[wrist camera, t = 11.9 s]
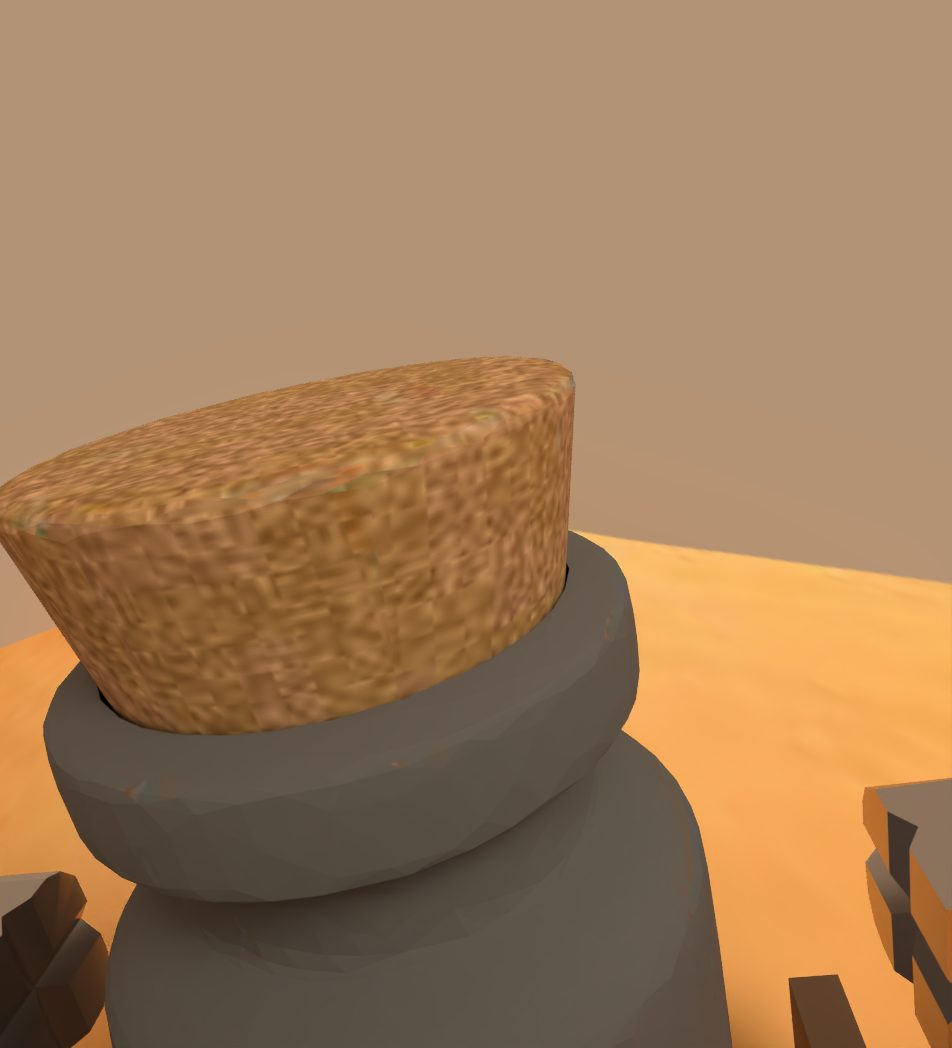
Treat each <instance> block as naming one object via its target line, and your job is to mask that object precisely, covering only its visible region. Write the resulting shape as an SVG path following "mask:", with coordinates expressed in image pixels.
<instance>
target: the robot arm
mask: <svg viewBox="0 0 952 1048" xmlns="http://www.w3.org/2000/svg"><path fill="white" fill-rule="evenodd" d="M862 802H863V824H864V826H865V828H866V830H867V831H868V833H869V835H870V837H871V839H872V841H873V843H874V845H875V847H876V849H875V851H874V852H873V853H872V855H871V856H870V857H869V858H868V860H867V861H866V862H865V863H866V874H867V886H868V894H869V899H870V903H871V908H872V912H873V917H874V921H875V925H876V927H877V930H878V933H879V936H880V939H881V941H882V944H883V947H884V949H885V951H886V953H887V956H888V958H889V960H890V962H891V964H892V966H893V969H894V971H896V972H897V973H899V974H900V975H902V976H903V977H904V978H906V979H907V980H909V981H910V982H912V983H913V984H914V1003H915V1015H916V1017H917V1019H918V1021H919V1023H920V1026H921V1028H922V1030H923V1032H924V1034H925V1036H926V1038H927V1040H928V1042H929V1044H930V1046H931V1048H952V778H946V779H937V780H928V781H919V782H910V783H901V784H892V785H882V786H873V787H865V790H864V796H863V801H862ZM86 902H87V900H86V898H85V895H84V893H83V891H82V889H81V887H80V885H79V883H78V881H77V879H76V877H75V876H73V875H70V874H67V873H64V872H61V871H59V872H46V873H34V874H21V875H9V876H0V1048H71V1047H72V1046H73V1045H75V1044H76V1043H77V1042H78V1041H79V1040H81V1039H82V1038H83V1037H84V1036H85V1035H87V1034H88V1033H89V1032H90V1031H91V1029H92V1027H93V1025H94V1023H95V1021H96V1019H97V1018H98V1016H99V1014H100V1012H101V1010H102V1008H103V1007H104V1003H105V984H106V970H107V965H108V960H109V956H108V951H107V948H106V946H105V943H104V941H103V938H102V936H101V934H100V933H99V932H98V931H96V930H95V929H94V928H93V927H91V926H90V925H89V924H87V923H86V922H85V921H83V920H82V919H81V916H82V914H83V911H84V908H85V905H86Z"/></svg>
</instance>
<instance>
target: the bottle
mask: <svg viewBox="0 0 952 1048" xmlns="http://www.w3.org/2000/svg"><path fill="white" fill-rule="evenodd" d="M574 399H575V382H574V379H573V375H572V373H571V372H570V371H569V370H567V369H566V368H565V367H563V366H562V365H560V364H558V363H555V362H553V361H550V360H546V359H537V358H522V357H482V358H467V359H455V360H446V361H438V362H430V363H422V364H415V365H408V366H401V367H394V368H387V369H381V370H374V371H366V372H361V373H356V374H351V375H346V376H341V377H336V378H331V379H325V380H320V381H315V382H310V383H305V384H300V385H295V386H291V387H286V388H282V389H277V390H273V391H269V392H263V393H259V394H254V395H250V396H246V397H242V398H239V399H235V400H231V401H227V402H224V403H220V404H216V405H212V406H209V407H205V408H201V409H197V410H193V411H190V412H186V413H183V414H178V415H175V416H171V417H167V418H163V419H160V420H157V421H154V422H151V423H148V424H145V425H142V426H139V427H136V428H133V429H130V430H127V431H124V432H121V433H118V434H115V435H112V436H109V437H106V438H103V439H100V440H97V441H94V442H91V443H88V444H86V445H83V446H80V447H77V448H74V449H71V450H69V451H67V452H64V453H62V454H60V455H58V456H56V457H53V458H51V459H49V460H47V461H44V462H42V463H40V464H38V465H35V466H33V467H32V468H30V469H28V470H26V471H25V472H23V473H21V474H19V475H18V476H16V477H14V478H12V479H11V480H9V481H7V482H6V483H5V484H4V485H3V486H1V487H0V543H1V544H2V545H3V547H4V548H5V550H6V551H7V553H8V554H9V556H10V557H11V559H12V560H13V562H14V563H15V565H16V566H17V568H18V569H19V571H20V572H21V574H22V575H23V577H24V578H25V580H26V581H27V583H28V584H29V586H30V587H31V588H32V590H33V591H34V593H35V594H36V596H37V597H38V599H39V600H40V602H41V603H42V605H43V606H44V607H45V609H46V611H47V612H48V614H49V615H50V617H51V618H52V620H53V621H54V622H55V624H56V625H57V627H58V628H59V630H60V631H61V633H62V634H63V636H64V637H65V639H66V640H67V642H68V643H69V645H70V646H71V648H72V649H73V651H74V652H75V653H76V655H77V656H78V658H79V659H80V662H79V663H78V664H77V666H76V667H75V668H74V669H73V670H72V671H71V673H70V674H69V675H68V676H67V677H66V678H65V680H64V681H63V682H62V683H61V684H60V686H59V687H58V688H57V690H56V692H55V695H54V697H53V699H52V702H51V704H50V707H49V710H48V713H47V715H46V718H45V721H44V724H43V731H44V741H45V746H46V750H47V755H48V760H49V764H50V767H51V770H52V773H53V776H54V779H55V782H56V785H57V788H58V790H59V792H60V795H61V797H62V799H63V801H64V803H65V806H66V808H67V810H68V812H69V814H70V817H71V819H72V821H73V823H74V826H75V828H76V830H77V832H78V834H79V837H80V838H81V839H82V841H83V842H84V844H85V845H86V846H87V848H88V849H89V850H90V852H91V853H92V854H93V856H94V857H95V858H96V859H97V860H99V861H100V862H101V863H103V864H104V865H105V866H107V867H108V868H110V869H111V870H112V871H114V872H115V873H116V874H118V875H119V876H121V877H122V878H124V879H127V880H129V881H131V882H134V883H136V884H137V885H136V887H135V889H134V891H133V892H132V894H131V896H130V898H129V900H128V902H127V903H126V905H125V908H124V910H123V913H122V915H121V917H120V920H119V922H118V925H117V928H116V932H115V936H114V939H113V943H112V947H111V951H110V956H109V960H108V965H107V970H106V984H105V1010H106V1015H107V1021H108V1026H109V1031H110V1037H111V1042H112V1047H113V1048H732V1040H731V1032H730V1025H729V1017H728V1009H727V1001H726V993H725V985H724V977H723V970H722V962H721V954H720V946H719V939H718V933H717V926H716V919H715V913H714V906H713V899H712V893H711V886H710V880H709V873H708V867H707V862H706V857H705V853H704V848H703V844H702V839H701V834H700V830H699V826H698V823H697V821H696V818H695V816H694V813H693V810H692V808H691V805H690V803H689V802H688V800H687V798H686V796H685V794H684V793H683V791H682V789H681V787H680V786H679V784H678V782H677V780H676V779H675V778H674V777H673V776H672V774H671V773H670V772H669V771H668V770H667V769H666V768H665V767H664V765H663V764H662V763H661V762H660V761H659V760H658V759H657V757H656V756H655V755H654V754H652V753H651V752H650V751H649V750H647V749H646V748H645V747H644V746H642V745H641V744H640V743H639V742H637V741H636V740H635V739H633V738H632V737H631V736H629V735H628V734H626V733H625V732H624V731H622V730H621V729H622V727H623V725H624V724H625V722H626V721H627V719H628V717H629V714H630V712H631V710H632V707H633V705H634V703H635V700H636V694H637V687H638V679H639V672H640V670H639V657H638V643H637V634H636V627H635V620H634V613H633V608H632V603H631V599H630V594H629V590H628V585H627V581H626V578H625V576H624V574H623V573H622V571H621V569H620V567H619V565H618V563H617V562H616V560H615V559H614V558H613V557H612V556H611V555H610V554H608V553H607V552H606V551H605V550H604V549H603V548H602V547H600V546H598V545H596V544H595V543H593V542H591V541H590V540H588V539H586V538H584V537H582V536H580V535H578V534H576V533H574V532H572V531H568V517H569V497H570V477H571V459H572V439H573V419H574Z"/></svg>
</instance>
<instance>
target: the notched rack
mask: <svg viewBox="0 0 952 1048" xmlns="http://www.w3.org/2000/svg"><path fill="white" fill-rule="evenodd" d="M789 989H790V1000H791V1011H792V1022H793V1032H794V1043H795V1048H866V1046H865V1043H864V1040H863V1038H862V1035H861V1033H860V1030H859V1028H858V1025H857V1023H856V1020H855V1017H854V1015H853V1012H852V1010H851V1007H850V1005H849V1002H848V1000H847V997H846V994H845V992H844V989H843V987H842V984H841V982H840V979H839V977H838V974H837V975H823V976H810V977H796V978H789Z"/></svg>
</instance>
